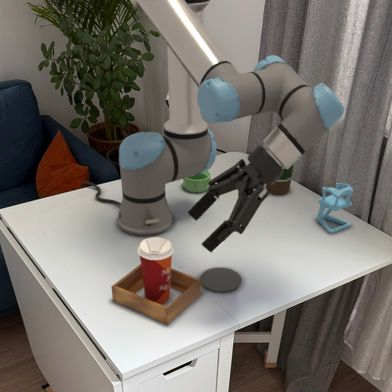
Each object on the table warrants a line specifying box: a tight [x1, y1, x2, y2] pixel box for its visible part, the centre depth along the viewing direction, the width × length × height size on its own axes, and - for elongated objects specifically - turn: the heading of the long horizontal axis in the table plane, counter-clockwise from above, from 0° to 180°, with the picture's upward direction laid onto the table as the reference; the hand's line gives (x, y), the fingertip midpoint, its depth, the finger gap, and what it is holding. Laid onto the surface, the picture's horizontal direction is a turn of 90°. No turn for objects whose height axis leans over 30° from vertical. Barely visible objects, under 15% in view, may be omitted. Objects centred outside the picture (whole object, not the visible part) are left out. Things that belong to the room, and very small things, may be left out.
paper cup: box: [137, 236, 174, 305], centre depth 114 cm, size 8×8×14 cm
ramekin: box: [182, 170, 212, 193], centre depth 160 cm, size 9×9×4 cm
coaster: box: [199, 266, 242, 294], centre depth 124 cm, size 10×10×1 cm
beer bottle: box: [265, 118, 294, 196], centre depth 153 cm, size 8×8×24 cm
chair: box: [316, 182, 354, 235], centre depth 142 cm, size 8×8×12 cm
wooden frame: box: [110, 263, 202, 325], centre depth 118 cm, size 16×14×4 cm
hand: (198, 231), depth 110 cm, fingers open, 13 cm apart
